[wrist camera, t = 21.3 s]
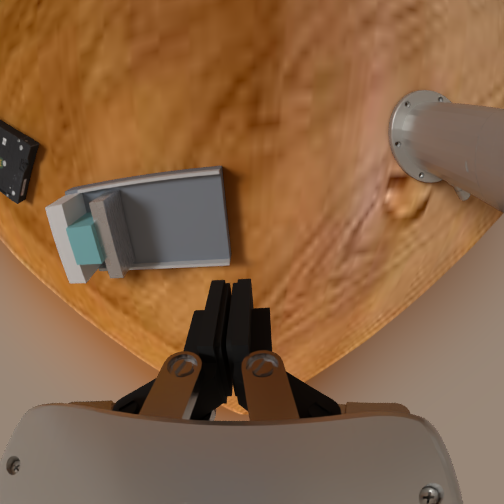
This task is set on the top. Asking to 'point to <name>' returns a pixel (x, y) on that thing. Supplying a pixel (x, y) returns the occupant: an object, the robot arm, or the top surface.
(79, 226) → the teal block
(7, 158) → the disk drive
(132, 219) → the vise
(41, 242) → the top surface
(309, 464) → the robot arm
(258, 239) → the top surface
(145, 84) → the top surface
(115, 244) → the block
